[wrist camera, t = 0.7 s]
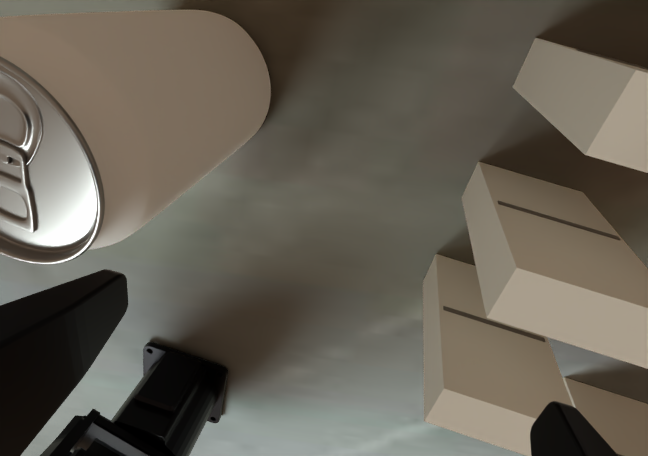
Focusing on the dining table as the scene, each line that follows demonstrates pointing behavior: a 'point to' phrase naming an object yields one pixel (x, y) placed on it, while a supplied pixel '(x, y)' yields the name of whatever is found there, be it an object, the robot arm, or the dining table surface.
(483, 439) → the domino
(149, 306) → the dining table surface
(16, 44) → the can
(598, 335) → the domino
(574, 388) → the domino
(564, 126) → the domino
